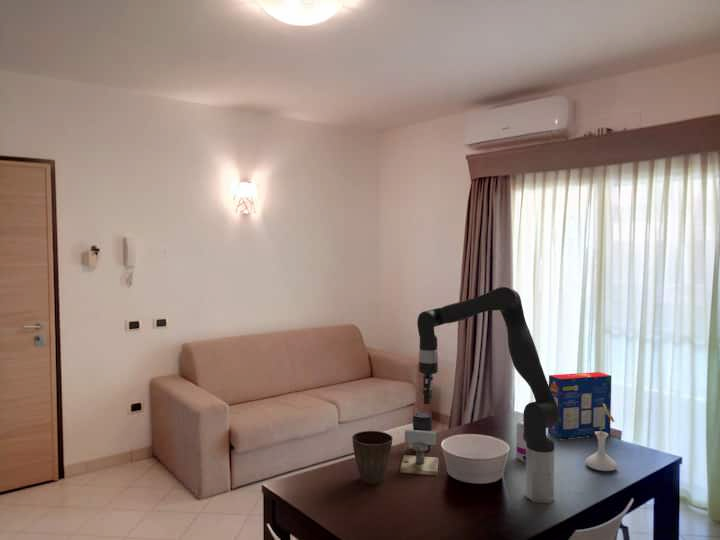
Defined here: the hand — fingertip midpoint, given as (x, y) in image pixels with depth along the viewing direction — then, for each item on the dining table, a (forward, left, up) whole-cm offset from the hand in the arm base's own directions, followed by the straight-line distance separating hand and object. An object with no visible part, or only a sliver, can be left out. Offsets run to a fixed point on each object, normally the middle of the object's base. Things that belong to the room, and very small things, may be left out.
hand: (427, 400), depth 210 cm
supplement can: (+13, -40, -26) cm, 49 cm away
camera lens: (+15, +3, -26) cm, 30 cm away
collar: (-4, +3, -18) cm, 19 cm away
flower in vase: (+10, -68, -26) cm, 73 cm away
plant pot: (-20, +19, -26) cm, 37 cm away
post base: (-4, +3, -25) cm, 26 cm away
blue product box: (+49, -68, -26) cm, 88 cm away
